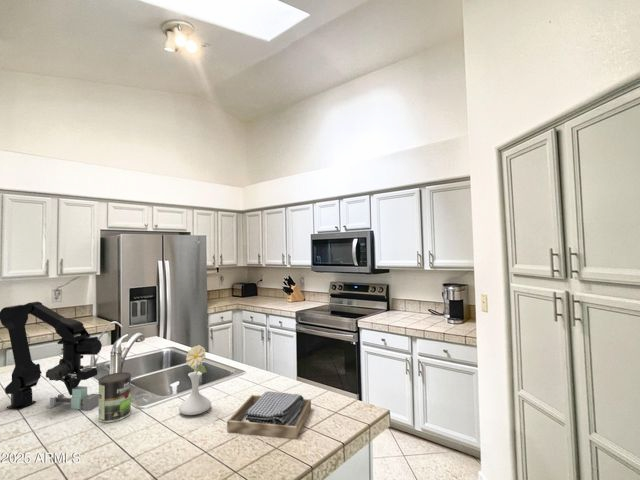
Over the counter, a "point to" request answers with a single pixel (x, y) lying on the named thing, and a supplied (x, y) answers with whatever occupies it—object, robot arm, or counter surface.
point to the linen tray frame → (262, 428)
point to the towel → (276, 409)
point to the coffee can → (114, 397)
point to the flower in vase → (195, 384)
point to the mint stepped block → (78, 397)
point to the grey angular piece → (87, 402)
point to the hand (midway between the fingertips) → (71, 394)
